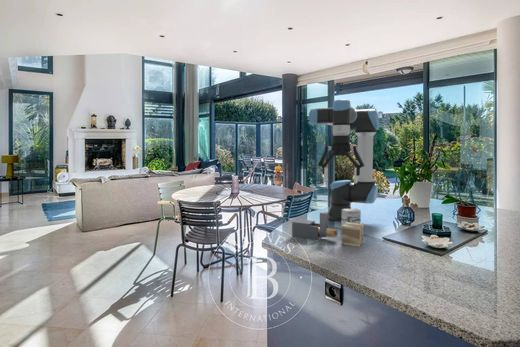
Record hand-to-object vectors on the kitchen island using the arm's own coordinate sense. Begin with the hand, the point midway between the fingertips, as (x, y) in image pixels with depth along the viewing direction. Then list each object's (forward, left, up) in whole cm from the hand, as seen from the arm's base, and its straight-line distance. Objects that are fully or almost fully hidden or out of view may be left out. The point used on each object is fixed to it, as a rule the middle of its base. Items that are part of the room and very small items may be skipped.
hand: (340, 182), depth 150 cm
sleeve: (-2, -16, -28) cm, 32 cm away
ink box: (-21, 0, -28) cm, 35 cm away
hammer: (-2, -11, -26) cm, 29 cm away
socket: (-2, +5, -28) cm, 29 cm away
